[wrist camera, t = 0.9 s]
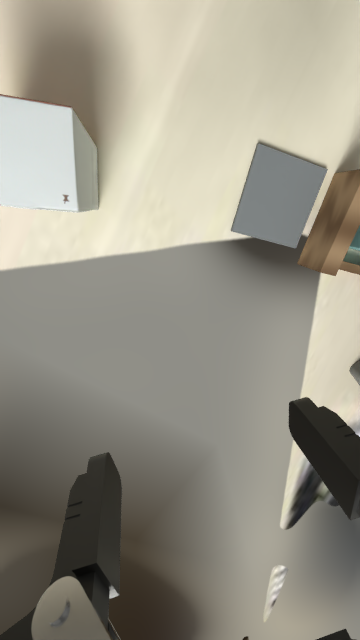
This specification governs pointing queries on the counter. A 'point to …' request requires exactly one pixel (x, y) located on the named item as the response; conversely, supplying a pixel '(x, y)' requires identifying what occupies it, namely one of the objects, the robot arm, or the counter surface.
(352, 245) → the teal box
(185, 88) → the counter surface
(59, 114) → the small box
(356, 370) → the cable clip
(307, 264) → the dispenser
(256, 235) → the mat
